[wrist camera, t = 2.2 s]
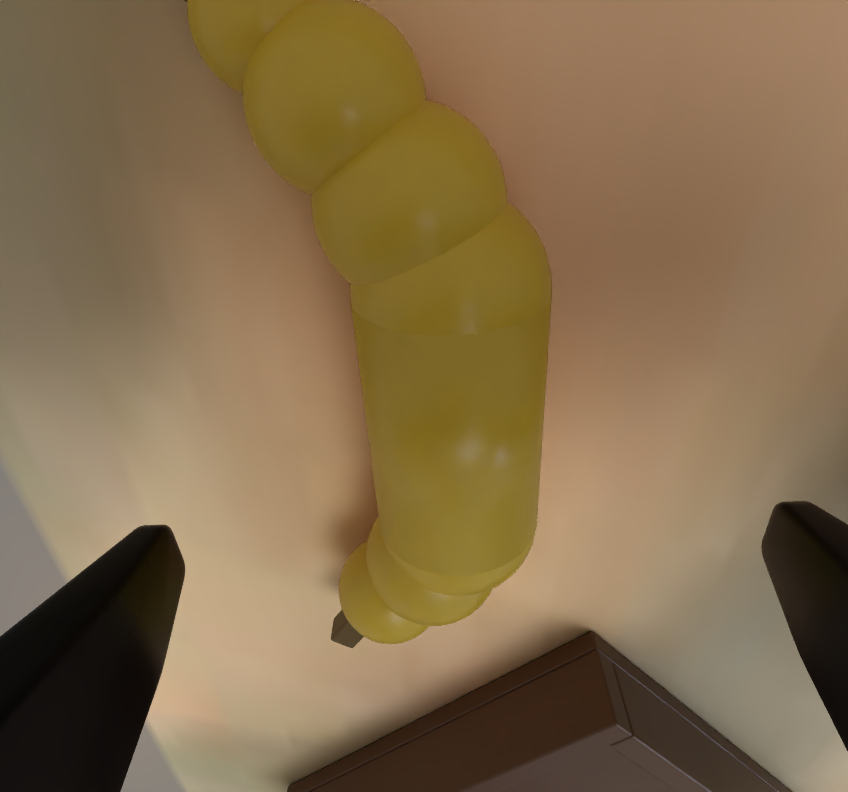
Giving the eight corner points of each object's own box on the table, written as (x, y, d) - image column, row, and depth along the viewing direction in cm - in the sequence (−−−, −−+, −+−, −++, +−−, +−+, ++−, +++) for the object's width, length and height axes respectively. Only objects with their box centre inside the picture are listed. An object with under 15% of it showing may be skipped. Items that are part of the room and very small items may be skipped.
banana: (519, 593, 17) (537, 711, 14) (324, 600, 17) (304, 718, 14) (551, -99, 9) (613, -153, 6) (176, -72, 9) (58, -113, 6)
